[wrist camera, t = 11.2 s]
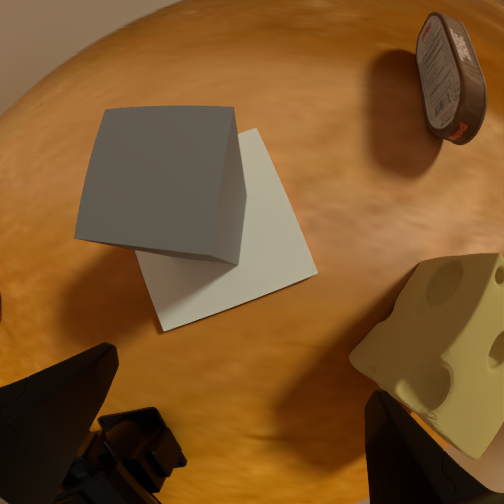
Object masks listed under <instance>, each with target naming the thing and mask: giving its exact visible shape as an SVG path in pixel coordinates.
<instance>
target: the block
mask: <svg viewBox="0 0 504 504" xmlns="http://www.w3.org/2000/svg"><path fill="white" fill-rule="evenodd" d="M246 200H247V192H246V186H245V179H244V172H243V166H242V159H241V153H240V146H239V140H238V133H237V127H236V120H235V114H234V107H221V106H146V107H129V108H116V109H106V110H105V112H104V115H103V118H102V121H101V124H100V127H99V131H98V134H97V137H96V140H95V144H94V147H93V151H92V154H91V158H90V162H89V166H88V170H87V174H86V178H85V183H84V187H83V192H82V196H81V201H80V207H79V212H78V218H77V223H76V230H75V236H74V238H75V239H80V240H85V241H90V242H95V243H100V244H106V245H111V246H116V247H121V248H127V249H132V250H137V251H143V252H148V253H153V254H159V255H164V256H170V257H178V258H185V259H193V260H201V261H209V262H218V263H226V264H234V265H239V257H240V249H241V241H242V232H243V224H244V216H245V208H246Z"/></svg>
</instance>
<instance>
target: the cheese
mask: <svg viewBox="0 0 504 504" xmlns="http://www.w3.org/2000/svg"><path fill="white" fill-rule="evenodd" d="M348 357H349V361H350V363H351V364H352V366H353V367H355V368H356V369H357V370H358V371H359V372H361V373H362V374H364V375H365V376H367V377H369V378H370V379H372V380H373V381H375V383H376V384H377V385H378V386H379V387H380V388H381V389H383V390H386V391H387V392H388V393H389V394H390V395H391V396H392V397H394V398H395V399H397V400H398V401H399V402H401V403H402V404H404V405H405V406H406V407H408V408H409V409H410V410H412V411H413V412H414V413H415V414H417V415H418V416H419V417H420V418H421V419H422V420H423V421H424V422H425V423H426V424H427V425H428V426H429V427H430V428H431V429H432V430H434V431H435V432H436V433H437V434H438V435H439V436H440V437H442V438H443V439H444V440H445V441H446V442H448V443H449V444H451V445H452V446H454V447H455V448H456V449H458V450H459V451H460V452H462V453H463V454H464V455H466V456H467V457H469V458H470V459H473V460H477V459H478V458H479V457H480V456H481V455H482V453H483V452H484V451H485V449H486V448H487V447H488V445H489V444H490V442H491V441H492V439H493V438H494V436H495V435H496V433H497V432H498V430H499V428H500V427H501V425H502V424H503V422H504V258H503V256H502V255H501V254H500V253H478V254H469V255H461V256H445V257H438V258H433V259H429V260H424V261H422V262H420V263H419V265H418V266H417V268H416V269H415V271H414V273H413V274H412V276H411V277H410V279H409V280H408V282H407V283H406V285H405V286H404V288H403V289H402V291H401V292H400V294H399V296H398V297H397V299H396V302H395V305H394V310H393V312H392V313H391V315H390V316H389V317H388V318H387V319H386V320H385V321H383V322H379V323H377V324H376V325H375V326H374V328H373V329H372V330H371V331H370V332H369V333H368V334H367V336H366V337H365V338H364V339H363V340H362V341H361V342H360V343H359V344H358V345H357V346H356V347H355V348H354V349H353V350H352V351H351V353H350V354H349V355H348Z"/></svg>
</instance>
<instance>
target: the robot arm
mask: <svg viewBox="0 0 504 504" xmlns="http://www.w3.org/2000/svg"><path fill="white" fill-rule="evenodd" d="M118 366H119V360H118V355H117V349H116V346H115V345H113V344H110V343H107V342H104V343H101V344H99V345H97V346H95V347H93V348H91V349H88V350H86V351H84V352H82V353H80V354H77V355H75V356H73V357H71V358H69V359H66V360H64V361H62V362H60V363H57V364H55V365H53V366H51V367H49V368H46V369H44V370H42V371H40V372H37V373H35V374H33V375H30V376H29V377H26V378H24V379H21V380H19V381H16V382H14V383H12V384H9V385H6V386H3V387H0V504H162V503H161V502H160V501H159V500H158V499H157V498H156V497H155V496H154V495H153V494H152V493H158V492H160V490H161V487H162V485H163V483H164V481H165V479H166V477H170V475H171V473H172V471H173V468H179V467H184V466H186V464H187V460H186V458H185V457H184V455H183V453H182V452H181V451H182V449H181V448H180V446H179V444H178V443H177V441H176V439H175V437H174V436H173V434H172V432H171V430H170V429H169V428H168V427H167V426H166V424H165V422H164V421H163V419H162V417H161V415H160V413H159V411H158V410H157V409H156V408H155V407H148V408H143V409H138V410H133V411H128V412H123V413H117V414H111V415H105V416H101V417H100V418H99V423H100V425H101V427H102V429H103V430H104V431H103V430H99V431H95V432H90V430H89V429H90V427H91V425H92V423H93V421H94V419H95V417H96V415H97V414H98V412H99V410H100V408H101V406H102V404H103V402H104V400H105V398H106V396H107V393H108V391H109V388H110V386H111V384H112V381H113V379H114V376H115V374H116V372H117V369H118ZM151 411H152V412H154V414H152V413H151ZM103 420H104V421H105V422H104V421H103ZM365 452H366V461H367V471H368V482H369V495H370V504H504V493H497V492H494V491H491V490H489V489H488V488H486V487H485V486H484V485H482V484H481V483H480V482H479V481H477V480H476V479H475V478H474V477H473V476H471V475H470V474H469V473H468V472H466V471H465V470H464V469H463V468H462V467H460V466H459V464H457V463H456V462H455V461H454V460H453V459H452V458H451V457H450V456H449V455H448V454H447V453H446V452H445V451H444V450H443V449H442V447H441V446H440V445H439V444H438V443H437V442H436V441H435V440H434V439H433V438H432V437H431V436H430V435H429V434H428V433H427V432H426V431H425V430H424V429H423V428H422V427H421V426H420V425H419V424H418V423H417V422H416V421H415V420H414V419H413V418H412V417H411V416H410V414H409V413H408V412H407V411H406V410H405V409H404V408H403V407H402V406H401V405H400V404H399V403H398V402H397V401H396V400H395V399H394V398H393V397H392V396H391V395H390V394H389V393H388V392H387V391H386V390H375V391H374V392H373V394H372V395H371V397H370V399H369V401H368V402H367V404H366V406H365ZM180 461H182V462H183V463H181V462H180Z"/></svg>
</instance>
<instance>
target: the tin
mask: <svg viewBox="0 0 504 504" xmlns="http://www.w3.org/2000/svg"><path fill="white" fill-rule="evenodd" d="M416 62H417V68H418V73H419V79H420V86H421V92H422V99H423V106H424V114H425V119H426V123H427V126H428V128H429V130H430V131H431V132H432V133H433V134H434V135H436V136H438V137H440V138H443V139H445V140H448V141H451V142H452V143H454V144H456V145H464V144H466V143H468V142H470V141H471V140H472V139H473V138H474V137H475V136H476V134H477V133H478V131H479V129H480V127H481V125H482V123H483V120H484V117H485V113H486V108H487V87H486V82H485V79H484V76H483V73H482V70H481V67H480V64H479V61H478V58H477V56H476V53H475V50H474V48H473V45H472V43H471V40H470V38H469V35H468V33H467V31H466V28H465V26H464V25H463V24H462V23H461V22H460V21H459V20H457V19H453V18H451V17H449V16H447V15H444V14H442V13H439V12H432V13H430V14H429V15H428V18H427V19H426V21H425V23H424V25H423V27H422V29H421V31H420V33H419V35H418V39H417V46H416Z"/></svg>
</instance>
